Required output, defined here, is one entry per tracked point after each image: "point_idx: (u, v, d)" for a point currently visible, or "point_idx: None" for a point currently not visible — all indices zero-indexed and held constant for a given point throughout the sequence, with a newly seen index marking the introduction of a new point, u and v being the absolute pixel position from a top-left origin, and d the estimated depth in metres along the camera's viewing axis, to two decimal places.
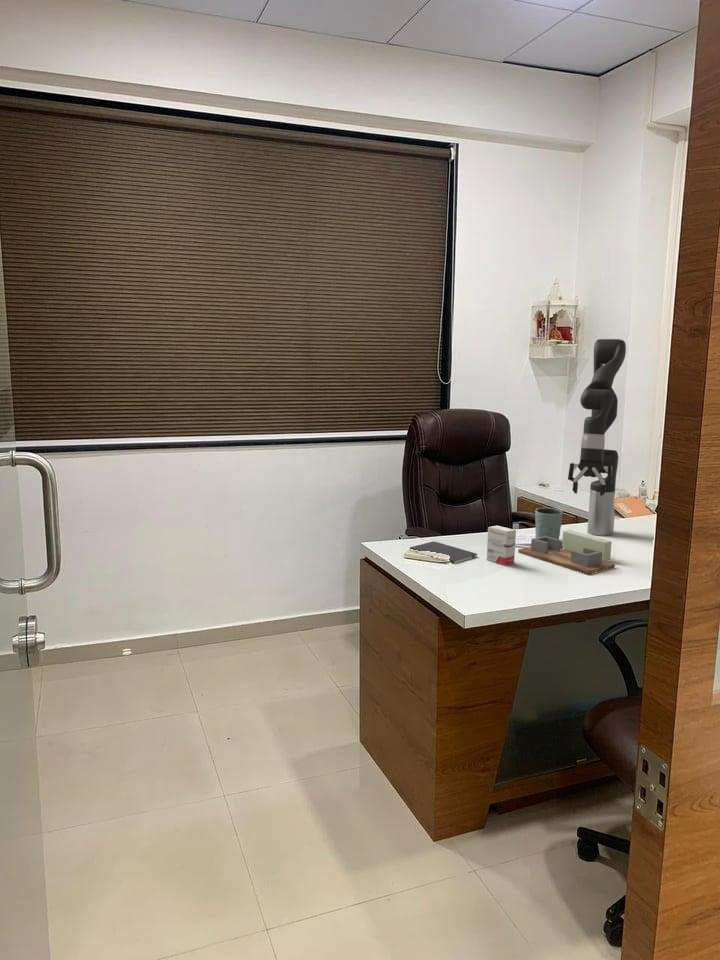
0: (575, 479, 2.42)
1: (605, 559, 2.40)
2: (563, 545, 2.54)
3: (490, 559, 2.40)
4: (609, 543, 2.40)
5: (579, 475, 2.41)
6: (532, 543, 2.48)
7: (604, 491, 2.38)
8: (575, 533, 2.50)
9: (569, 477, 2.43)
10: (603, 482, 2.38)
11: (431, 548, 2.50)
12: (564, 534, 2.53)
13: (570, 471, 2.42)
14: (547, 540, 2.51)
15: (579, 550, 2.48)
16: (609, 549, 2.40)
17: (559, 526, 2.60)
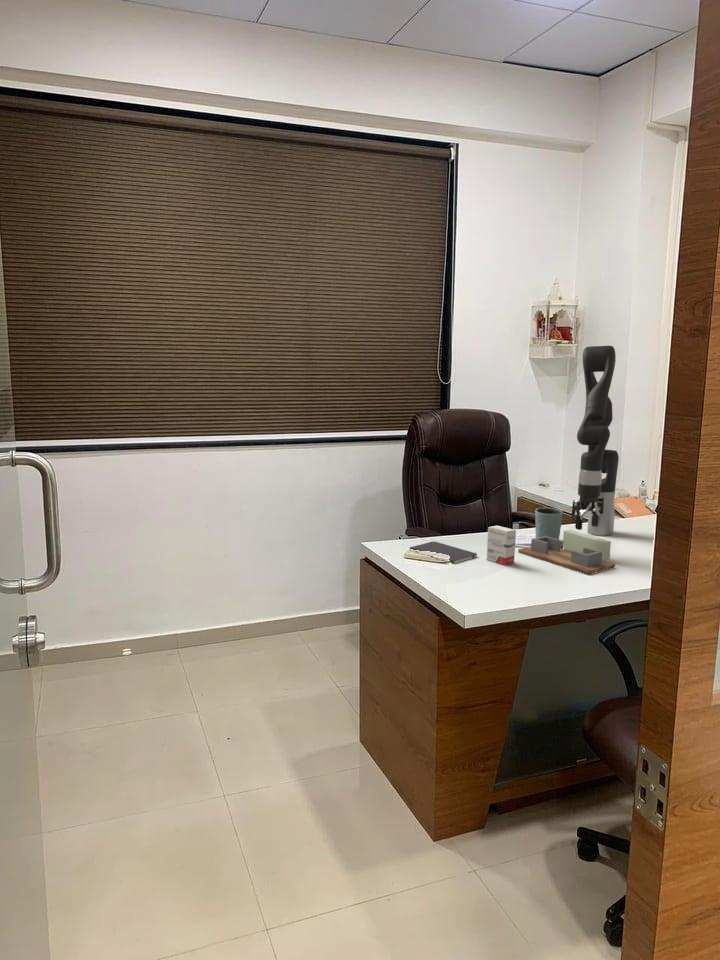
0: (581, 516, 2.41)
1: (605, 559, 2.40)
2: (564, 545, 2.54)
3: (490, 559, 2.40)
4: (608, 543, 2.39)
5: (585, 512, 2.42)
6: (532, 543, 2.48)
7: (598, 522, 2.48)
8: (575, 533, 2.50)
9: (578, 515, 2.40)
10: (599, 514, 2.47)
11: (431, 548, 2.50)
12: (565, 534, 2.53)
13: (578, 509, 2.40)
14: (547, 540, 2.51)
15: (579, 550, 2.48)
16: (608, 549, 2.40)
17: (559, 526, 2.60)
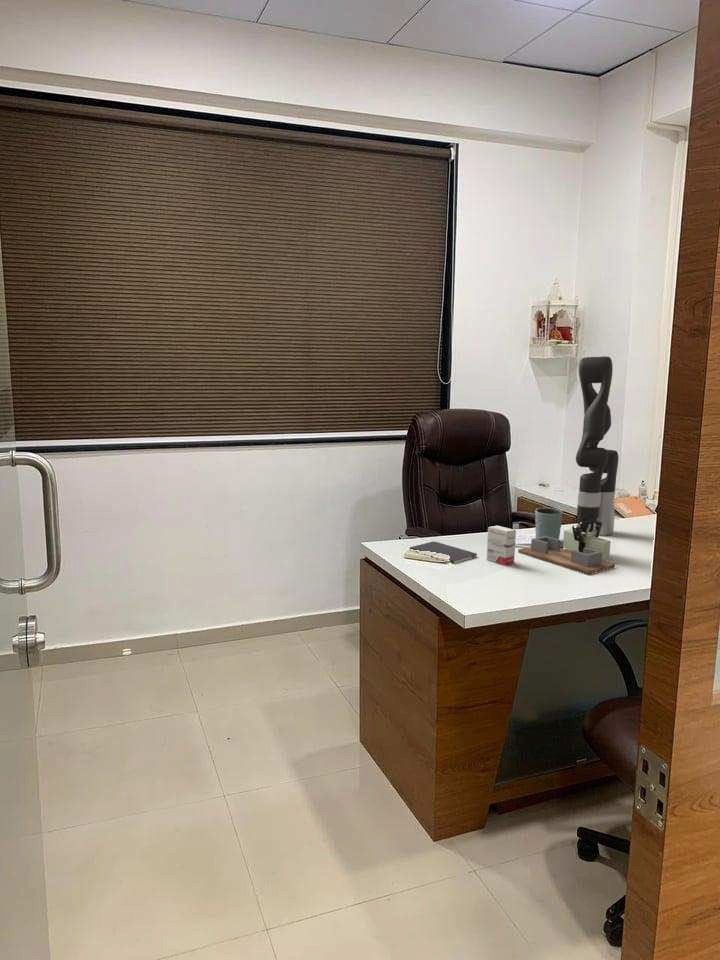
0: (584, 540, 2.44)
1: (604, 559, 2.40)
2: (564, 544, 2.54)
3: (490, 559, 2.40)
4: (608, 543, 2.39)
5: (586, 534, 2.44)
6: (532, 543, 2.48)
7: None
8: None
9: (580, 539, 2.43)
10: None
11: (431, 548, 2.50)
12: (565, 533, 2.53)
13: (579, 534, 2.42)
14: (547, 540, 2.51)
15: None
16: (608, 549, 2.40)
17: (559, 526, 2.60)
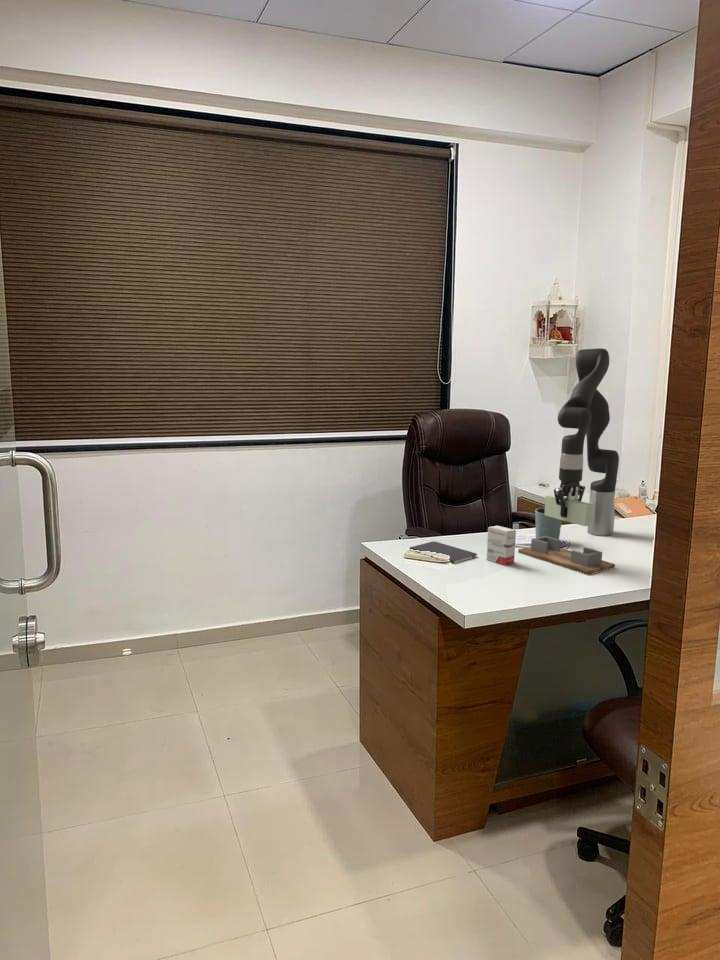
0: (566, 504, 2.35)
1: (587, 523, 2.31)
2: (545, 510, 2.45)
3: (490, 559, 2.40)
4: (591, 506, 2.31)
5: (569, 498, 2.35)
6: (532, 543, 2.48)
7: None
8: None
9: (562, 503, 2.34)
10: None
11: (431, 548, 2.50)
12: (546, 498, 2.44)
13: (561, 497, 2.34)
14: (547, 540, 2.51)
15: None
16: (591, 513, 2.31)
17: (559, 526, 2.60)
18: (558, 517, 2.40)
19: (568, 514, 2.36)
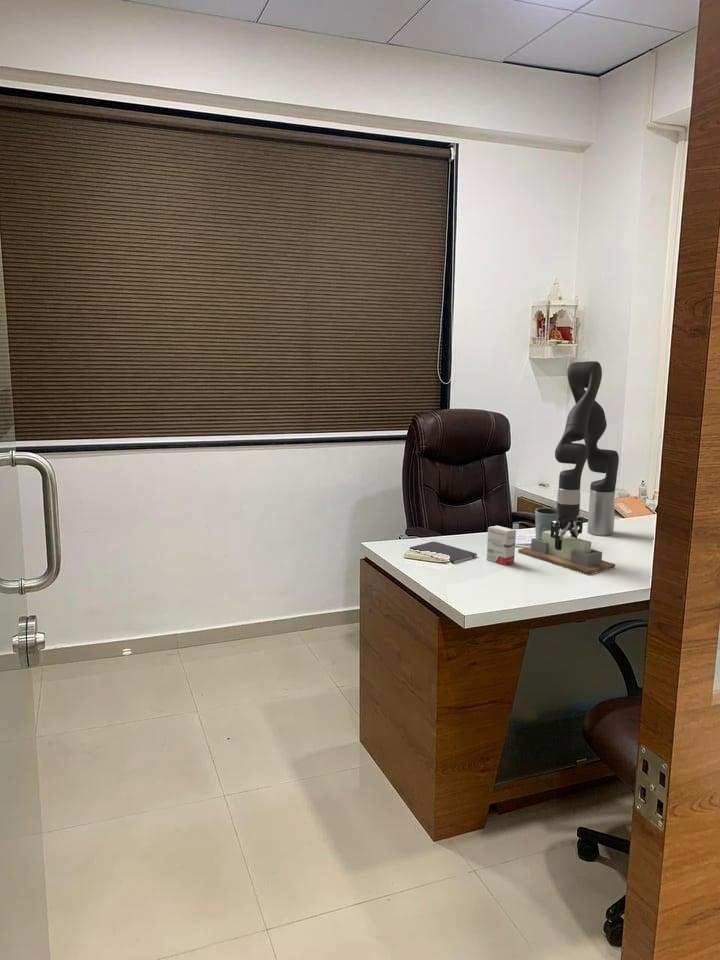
0: (561, 537, 2.37)
1: None
2: None
3: (490, 559, 2.40)
4: (589, 544, 2.34)
5: (564, 532, 2.37)
6: (532, 543, 2.48)
7: None
8: (554, 534, 2.44)
9: (557, 536, 2.36)
10: (577, 533, 2.41)
11: (431, 548, 2.50)
12: (543, 535, 2.46)
13: (557, 530, 2.35)
14: None
15: (558, 551, 2.41)
16: (589, 550, 2.34)
17: None
18: (555, 553, 2.43)
19: (566, 551, 2.39)
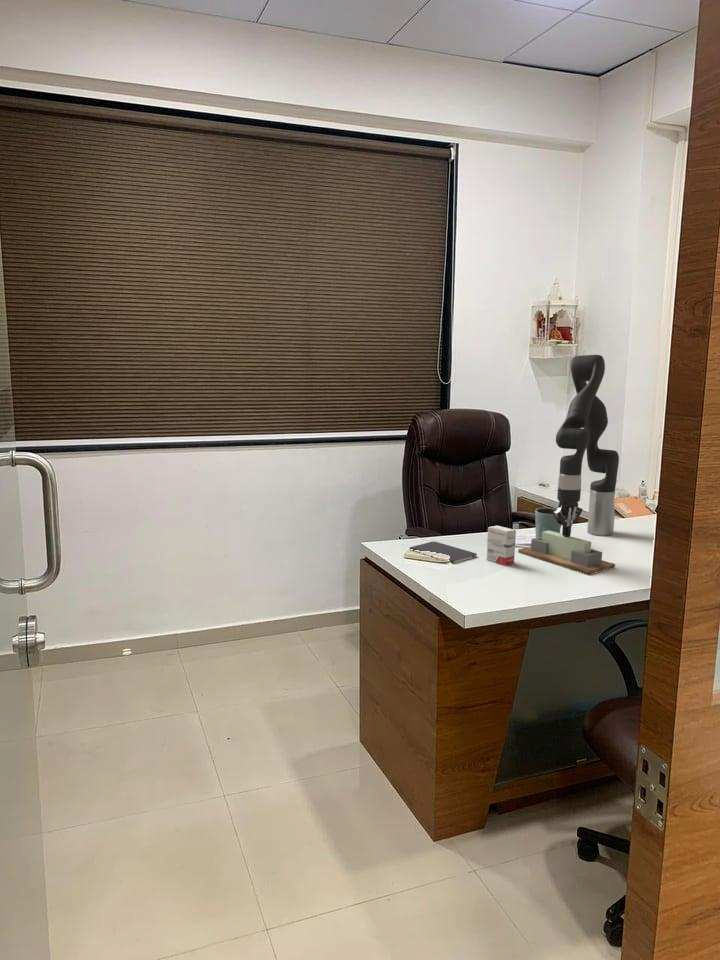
0: (568, 523, 2.38)
1: None
2: None
3: (490, 559, 2.40)
4: (589, 544, 2.34)
5: (569, 518, 2.37)
6: (532, 543, 2.48)
7: (570, 531, 2.40)
8: (554, 534, 2.44)
9: (564, 523, 2.37)
10: (571, 523, 2.39)
11: (431, 548, 2.50)
12: (543, 535, 2.46)
13: (562, 519, 2.36)
14: None
15: (558, 551, 2.41)
16: (589, 550, 2.34)
17: (559, 526, 2.60)
18: (555, 553, 2.43)
19: (566, 551, 2.39)
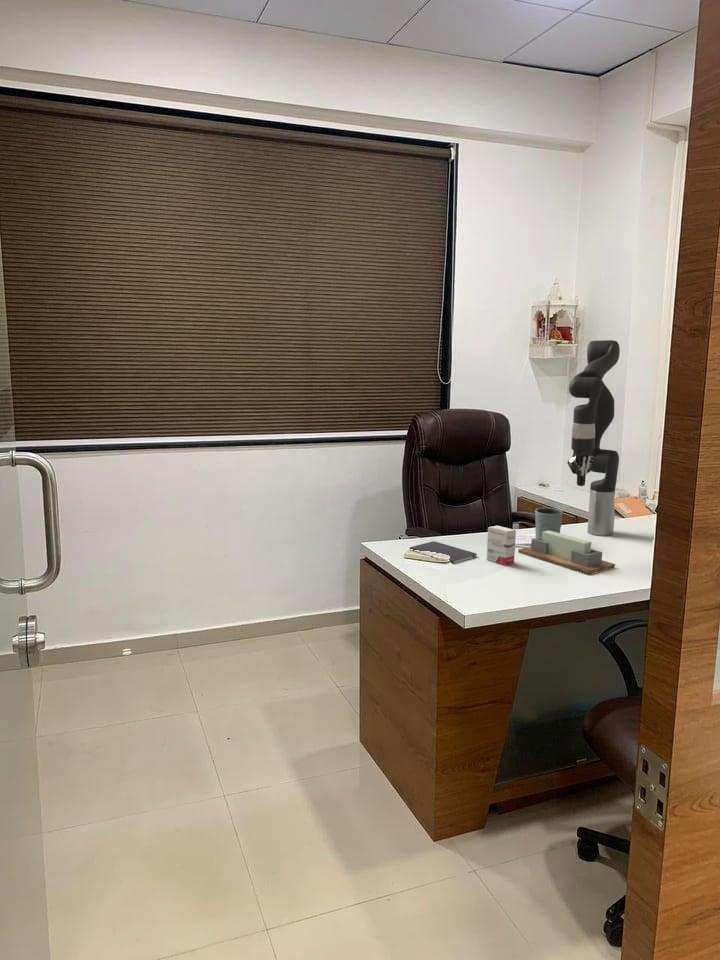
0: (582, 472, 2.40)
1: None
2: None
3: (490, 559, 2.40)
4: (589, 544, 2.34)
5: (583, 467, 2.39)
6: (532, 543, 2.48)
7: None
8: (554, 534, 2.44)
9: (578, 472, 2.39)
10: (585, 472, 2.41)
11: (431, 548, 2.50)
12: (543, 535, 2.46)
13: (576, 468, 2.38)
14: None
15: (558, 551, 2.41)
16: (589, 550, 2.34)
17: (559, 526, 2.60)
18: (555, 553, 2.43)
19: (566, 551, 2.39)
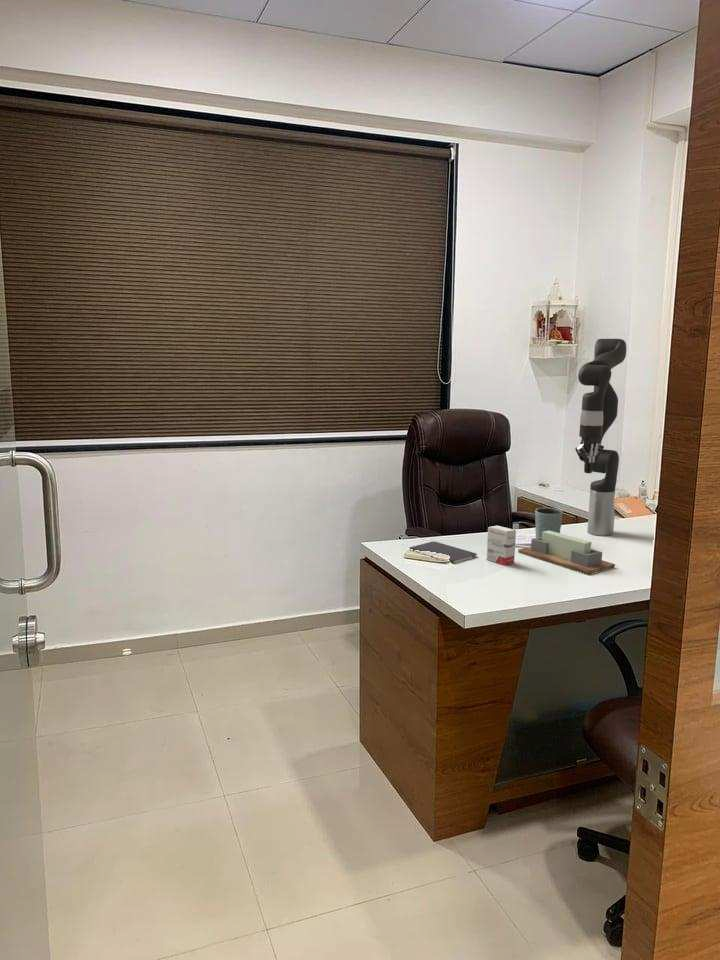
0: (590, 460, 2.42)
1: None
2: None
3: (490, 559, 2.40)
4: (589, 544, 2.34)
5: (591, 454, 2.41)
6: (532, 543, 2.48)
7: (592, 468, 2.44)
8: (554, 534, 2.44)
9: (586, 459, 2.41)
10: (593, 460, 2.43)
11: (431, 548, 2.50)
12: (543, 535, 2.46)
13: (584, 455, 2.40)
14: None
15: (558, 551, 2.41)
16: (589, 550, 2.34)
17: (559, 526, 2.60)
18: (555, 553, 2.43)
19: (566, 551, 2.39)
